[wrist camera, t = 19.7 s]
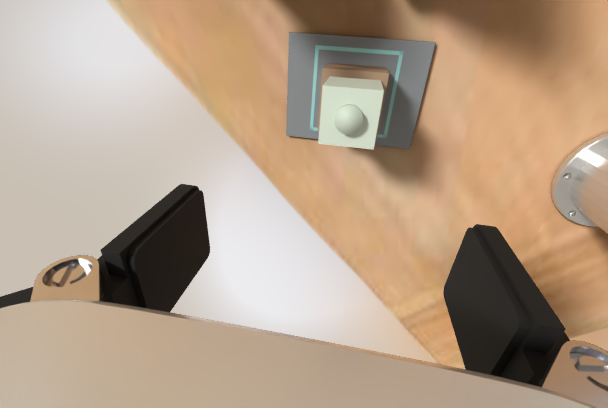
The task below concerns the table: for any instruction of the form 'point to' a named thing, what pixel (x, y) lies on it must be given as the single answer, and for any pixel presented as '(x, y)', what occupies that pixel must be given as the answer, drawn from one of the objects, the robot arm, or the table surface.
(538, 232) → the table surface
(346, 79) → the sage block
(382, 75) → the walnut block
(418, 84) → the slate mat
